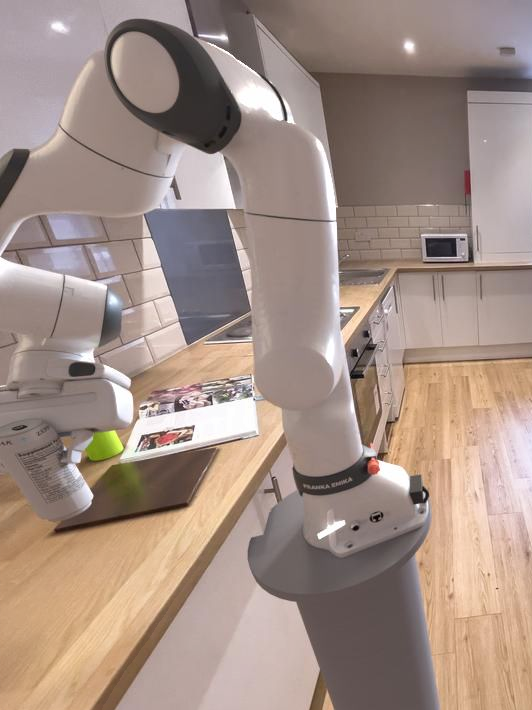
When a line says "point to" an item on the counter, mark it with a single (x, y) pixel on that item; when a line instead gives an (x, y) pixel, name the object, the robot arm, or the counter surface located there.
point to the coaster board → (144, 488)
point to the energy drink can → (43, 470)
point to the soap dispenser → (104, 446)
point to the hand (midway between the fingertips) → (39, 468)
